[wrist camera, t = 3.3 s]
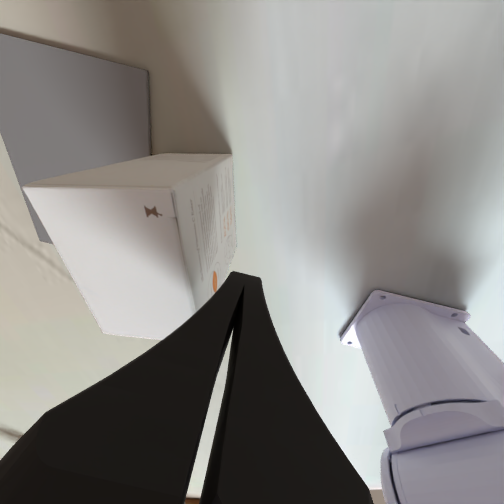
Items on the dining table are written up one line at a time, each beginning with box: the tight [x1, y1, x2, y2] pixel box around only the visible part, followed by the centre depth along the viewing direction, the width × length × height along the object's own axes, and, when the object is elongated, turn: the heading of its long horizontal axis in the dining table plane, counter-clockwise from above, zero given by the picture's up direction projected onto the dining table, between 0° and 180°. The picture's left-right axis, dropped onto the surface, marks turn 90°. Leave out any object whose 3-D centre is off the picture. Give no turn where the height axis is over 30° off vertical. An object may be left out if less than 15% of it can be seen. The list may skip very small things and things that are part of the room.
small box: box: [22, 153, 237, 340], centre depth 13 cm, size 8×6×10 cm
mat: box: [0, 33, 151, 244], centre depth 17 cm, size 12×16×1 cm
